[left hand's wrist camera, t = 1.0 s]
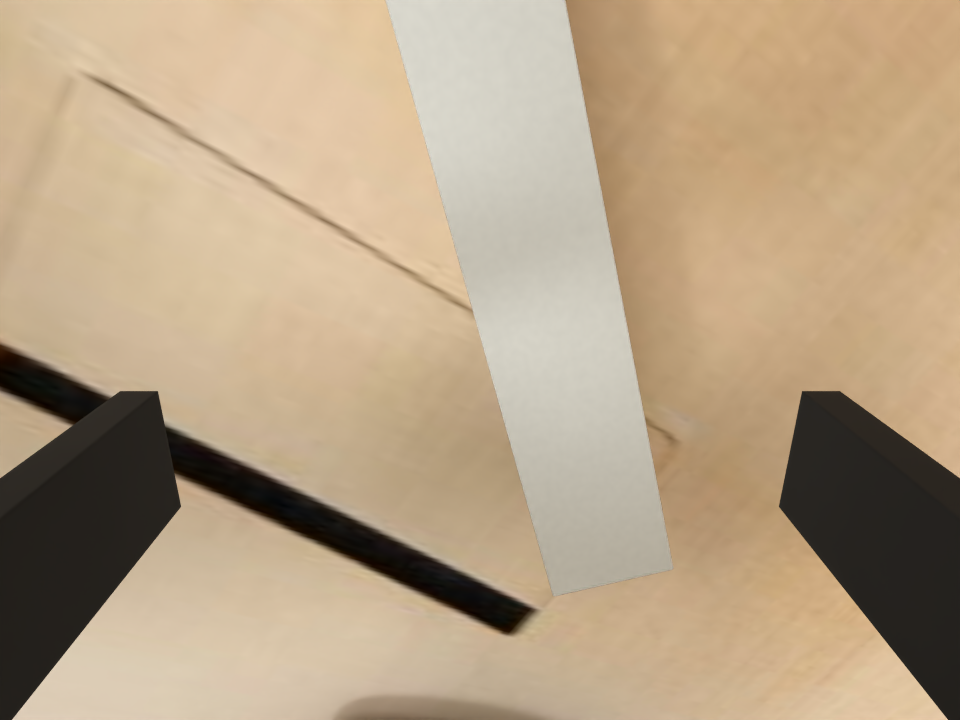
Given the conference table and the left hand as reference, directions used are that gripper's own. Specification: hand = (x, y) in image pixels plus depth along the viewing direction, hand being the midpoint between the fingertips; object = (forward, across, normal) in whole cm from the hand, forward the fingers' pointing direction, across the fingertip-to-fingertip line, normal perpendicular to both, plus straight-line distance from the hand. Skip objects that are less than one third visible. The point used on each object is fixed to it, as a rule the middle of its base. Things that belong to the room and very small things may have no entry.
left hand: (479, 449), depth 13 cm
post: (+17, +4, -24) cm, 30 cm away
